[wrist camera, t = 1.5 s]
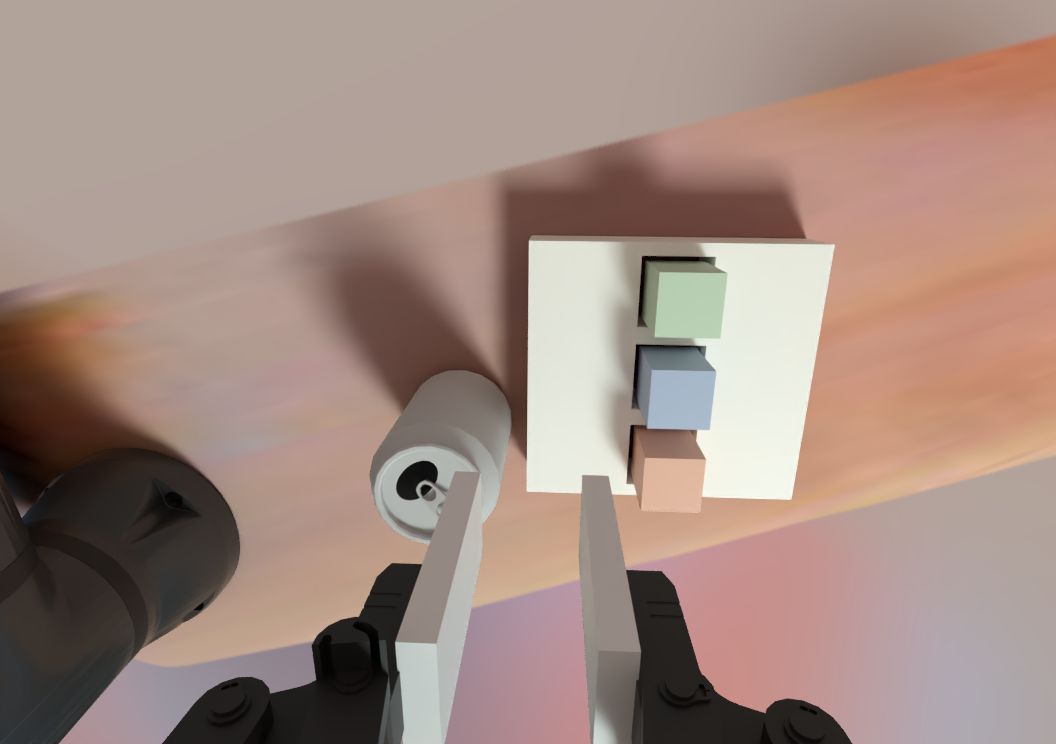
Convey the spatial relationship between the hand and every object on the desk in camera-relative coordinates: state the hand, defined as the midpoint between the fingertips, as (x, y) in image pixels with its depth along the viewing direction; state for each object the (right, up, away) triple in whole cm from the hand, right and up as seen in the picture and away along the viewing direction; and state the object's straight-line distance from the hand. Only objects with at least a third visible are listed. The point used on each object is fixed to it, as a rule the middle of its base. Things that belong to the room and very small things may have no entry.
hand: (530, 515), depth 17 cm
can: (-5, +1, +26) cm, 26 cm away
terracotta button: (+9, -1, +23) cm, 24 cm away
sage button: (+9, +9, +19) cm, 23 cm away
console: (+9, +5, +24) cm, 26 cm away
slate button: (+9, +4, +21) cm, 23 cm away
